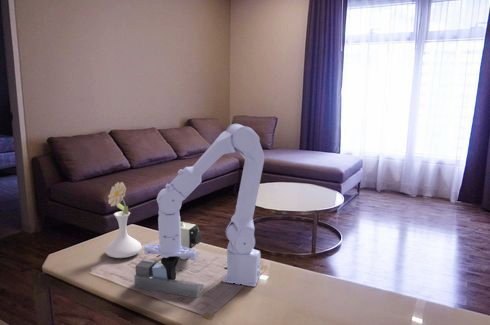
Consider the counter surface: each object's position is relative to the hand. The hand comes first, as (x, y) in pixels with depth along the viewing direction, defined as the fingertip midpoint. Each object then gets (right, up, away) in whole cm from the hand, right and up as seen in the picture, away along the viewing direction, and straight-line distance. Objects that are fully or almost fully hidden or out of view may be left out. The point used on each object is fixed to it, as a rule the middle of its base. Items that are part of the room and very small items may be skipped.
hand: (171, 280), depth 97 cm
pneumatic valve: (0, +1, +18) cm, 19 cm away
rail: (-1, -2, -1) cm, 2 cm away
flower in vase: (-19, +2, +19) cm, 27 cm away
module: (-2, -1, +1) cm, 3 cm away
